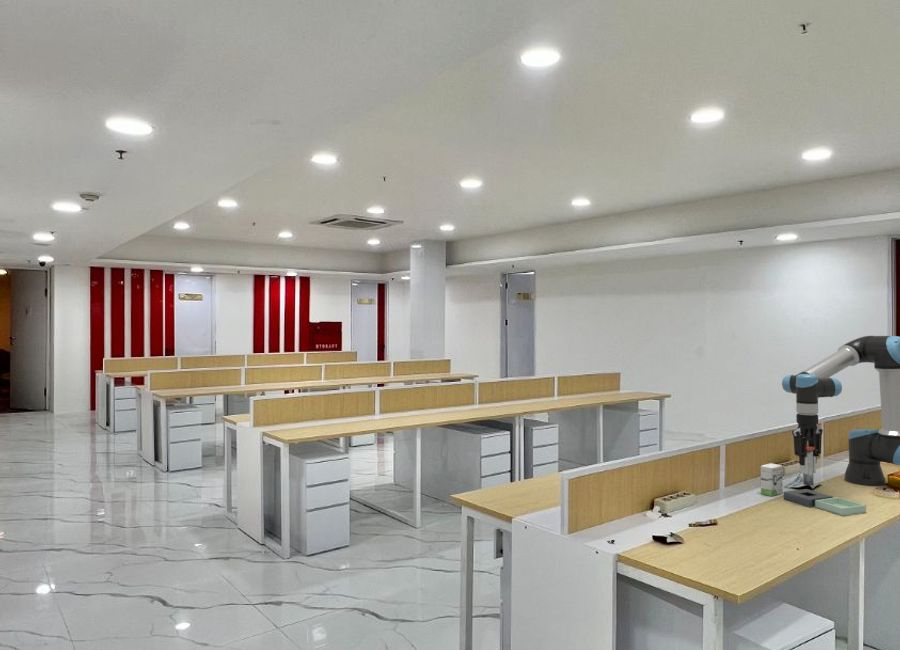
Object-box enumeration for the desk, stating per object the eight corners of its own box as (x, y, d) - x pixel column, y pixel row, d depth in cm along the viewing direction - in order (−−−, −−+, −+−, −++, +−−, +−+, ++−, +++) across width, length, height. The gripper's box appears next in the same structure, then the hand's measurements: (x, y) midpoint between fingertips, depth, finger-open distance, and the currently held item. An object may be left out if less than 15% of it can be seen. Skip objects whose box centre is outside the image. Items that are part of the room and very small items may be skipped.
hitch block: (806, 496, 256) (806, 488, 256) (833, 504, 245) (832, 496, 245) (783, 499, 253) (783, 491, 253) (809, 507, 241) (809, 499, 241)
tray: (838, 504, 245) (838, 497, 245) (866, 512, 234) (866, 505, 234) (815, 507, 241) (815, 500, 241) (842, 516, 230) (842, 508, 230)
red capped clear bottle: (807, 482, 252) (807, 444, 252) (818, 485, 247) (817, 446, 247) (798, 483, 250) (797, 445, 250) (808, 486, 246) (808, 447, 246)
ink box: (772, 496, 256) (771, 467, 256) (760, 494, 261) (760, 465, 260) (783, 493, 261) (782, 465, 261) (771, 490, 265) (771, 462, 265)
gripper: (815, 410, 255) (816, 468, 255) (782, 413, 250) (783, 472, 250) (831, 413, 248) (832, 472, 248) (798, 416, 242) (799, 477, 243)
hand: (808, 472), depth 249 cm, fingers closed on red capped clear bottle, 3 cm apart
